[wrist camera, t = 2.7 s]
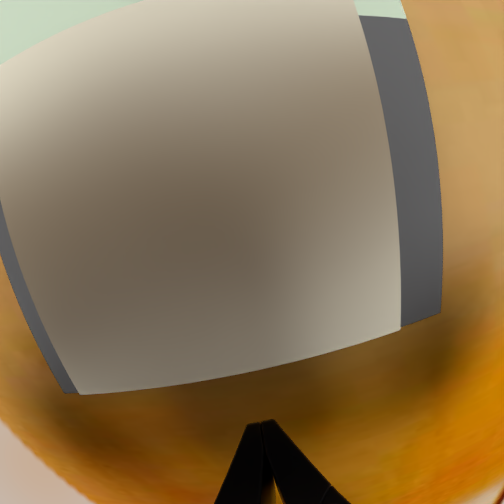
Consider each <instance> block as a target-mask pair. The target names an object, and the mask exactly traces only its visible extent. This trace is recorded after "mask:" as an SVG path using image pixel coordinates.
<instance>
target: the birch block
mask: <svg viewBox="0 0 504 504" xmlns="http://www.w3.org/2000/svg"><path fill="white" fill-rule="evenodd" d="M0 201H1V205H2V209H3V213H4V217H5V220H6V224H7V228H8V231H9V235H10V238H11V241H12V244H13V248H14V251H15V254H16V257H17V260H18V263H19V266H20V269H21V271H22V274H23V277H24V280H25V282H26V285H27V288H28V290H29V293H30V295H31V298H32V300H33V303H34V305H35V307H36V310H37V312H38V314H39V317H40V319H41V321H42V323H43V326H44V328H45V330H46V332H47V334H48V336H49V338H50V340H51V343H52V345H53V347H54V349H55V351H56V353H57V355H58V356H59V358H60V360H61V362H62V364H63V366H64V368H65V370H66V372H67V373H68V375H69V377H70V379H71V380H72V382H73V384H74V386H75V387H76V389H77V391H78V393H79V394H80V395H89V394H103V393H114V392H125V391H134V390H143V389H151V388H159V387H166V386H173V385H180V384H187V383H193V382H199V381H205V380H211V379H216V378H222V377H227V376H232V375H237V374H242V373H247V372H252V371H256V370H261V369H265V368H270V367H274V366H278V365H283V364H287V363H291V362H295V361H299V360H303V359H307V358H310V357H314V356H318V355H322V354H325V353H329V352H332V351H336V350H339V349H343V348H346V347H350V346H353V345H356V344H359V343H363V342H366V341H369V340H372V339H375V338H378V337H381V336H384V335H387V334H390V333H393V332H396V331H399V330H400V328H401V270H400V246H399V230H398V217H397V206H396V196H395V187H394V178H393V170H392V163H391V156H390V149H389V143H388V137H387V131H386V125H385V120H384V114H383V109H382V104H381V100H380V95H379V90H378V86H377V81H376V77H375V73H374V69H373V65H372V61H371V57H370V53H369V50H368V46H367V42H366V39H365V35H364V32H363V29H362V25H361V22H360V19H359V16H358V13H357V10H356V6H355V4H354V1H353V0H143V1H140V2H137V3H133V4H130V5H127V6H124V7H121V8H118V9H115V10H113V11H110V12H107V13H104V14H102V15H99V16H96V17H94V18H91V19H89V20H86V21H84V22H82V23H79V24H77V25H75V26H72V27H70V28H68V29H66V30H63V31H61V32H59V33H57V34H55V35H53V36H51V37H49V38H47V39H45V40H43V41H41V42H39V43H37V44H35V45H33V46H32V47H30V48H28V49H26V50H24V51H23V52H21V53H19V54H17V55H16V56H14V57H12V58H11V59H9V60H7V61H6V62H4V63H2V64H1V65H0Z"/></svg>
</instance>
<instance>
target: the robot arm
mask: <svg viewBox="0 0 504 504" xmlns="http://www.w3.org/2000/svg"><path fill="white" fill-rule="evenodd" d="M274 480H275V483H276V486H277V489H278V491H279V494H280V497H281V499H282V502H283V504H351V503H349V502H348V501H347V500H346V499H345V498H344V497H343V496H342V495H341V494H340V493H339V492H338V491H337V490H336V489H335V488H334V487H333V486H331V484H330V483H329V482H328V480H327V479H326V478H325V477H324V476H323V475H322V474H321V473H320V472H319V471H318V470H317V468H316V467H315V466H314V465H313V464H312V463H311V462H310V461H309V460H308V458H307V457H306V456H305V455H304V454H303V453H302V452H301V450H300V449H299V448H298V447H297V446H296V445H295V444H294V442H293V441H292V440H291V439H290V438H289V436H288V435H287V434H286V433H285V432H284V431H283V429H282V428H281V427H280V426H279V425H278V423H277V422H276V421H275V420H274V419H270V420H265V421H262V422H261V423H260V422H255V423H250V424H248V425H247V426H246V428H245V431H244V433H243V436H242V438H241V441H240V443H239V446H238V448H237V450H236V453H235V455H234V458H233V460H232V463H231V465H230V467H229V470H228V472H227V475H226V477H225V479H224V482H223V484H222V486H221V489H220V491H219V493H218V496H217V498H216V500H215V502H214V504H276V495H275V483H274Z"/></svg>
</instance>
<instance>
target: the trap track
mask: <svg viewBox="0 0 504 504" xmlns="http://www.w3.org/2000/svg"><path fill="white" fill-rule="evenodd" d="M140 1H143V0H0V65H1V64H2V63H4V62H6V61H7V60H9V59H11V58H12V57H14V56H16V55H17V54H19V53H21V52H23V51H24V50H26V49H28V48H30V47H32V46H33V45H35V44H37V43H39V42H41V41H43V40H45V39H47V38H49V37H51V36H53V35H55V34H57V33H59V32H61V31H63V30H66V29H68V28H70V27H72V26H75V25H77V24H79V23H82V22H84V21H86V20H89V19H91V18H94V17H96V16H99V15H102V14H104V13H107V12H110V11H113V10H115V9H118V8H121V7H124V6H127V5H130V4H133V3H137V2H140ZM353 1H354V4H355V6H356V10H357V13H358V16H359V19H360V22H361V25H362V29H363V32H364V35H365V39H366V42H367V46H368V50H369V53H370V57H371V61H372V65H373V69H374V73H375V77H376V81H377V86H378V90H379V95H380V100H381V104H382V109H383V114H384V120H385V125H386V131H387V137H388V143H389V149H390V156H391V163H392V170H393V178H394V187H395V196H396V206H397V217H398V230H399V246H400V270H401V327H403V326H406V325H408V324H411V323H414V322H417V321H419V320H422V319H425V318H428V317H430V316H433V315H435V314H438V313H440V310H441V295H442V271H443V231H442V206H441V191H440V179H439V169H438V160H437V152H436V144H435V137H434V131H433V124H432V118H431V113H430V107H429V102H428V97H427V92H426V88H425V83H424V79H423V75H422V71H421V66H420V63H419V59H418V55H417V51H416V48H415V44H414V41H413V37H412V34H411V31H410V28H409V24H408V21H407V18H406V15H405V12H404V10H403V7H402V4H401V1H400V0H353ZM0 254H1V257H2V260H3V263H4V266H5V269H6V272H7V275H8V277H9V280H10V283H11V285H12V288H13V290H14V293H15V296H16V298H17V300H18V303H19V305H20V308H21V310H22V312H23V315H24V317H25V319H26V321H27V324H28V326H29V328H30V330H31V332H32V334H33V336H34V338H35V340H36V342H37V344H38V346H39V348H40V350H41V352H42V354H43V356H44V358H45V360H46V362H47V364H48V366H49V367H50V369H51V371H52V373H53V375H54V376H55V378H56V380H57V382H58V383H59V385H60V387H61V388H62V390H63V392H64V393H78V391H77V389H76V387H75V386H74V384H73V382H72V380H71V379H70V377H69V375H68V373H67V372H66V370H65V368H64V366H63V364H62V362H61V360H60V358H59V356H58V355H57V353H56V351H55V349H54V347H53V345H52V343H51V340H50V338H49V336H48V334H47V332H46V330H45V328H44V326H43V323H42V321H41V319H40V317H39V314H38V312H37V310H36V307H35V305H34V303H33V300H32V298H31V295H30V293H29V290H28V288H27V285H26V282H25V280H24V277H23V274H22V271H21V269H20V266H19V263H18V260H17V257H16V254H15V251H14V248H13V244H12V241H11V238H10V235H9V231H8V228H7V224H6V220H5V217H4V213H3V209H2V205H1V201H0Z"/></svg>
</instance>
